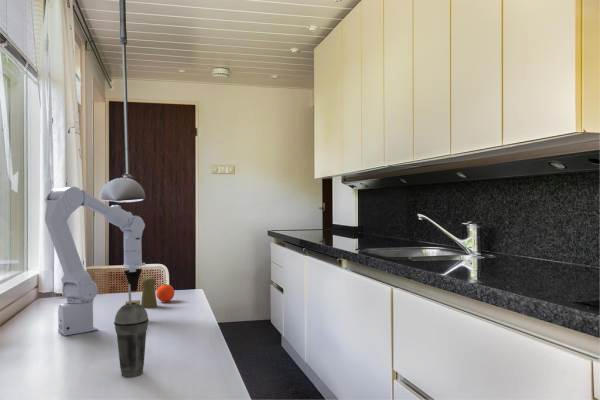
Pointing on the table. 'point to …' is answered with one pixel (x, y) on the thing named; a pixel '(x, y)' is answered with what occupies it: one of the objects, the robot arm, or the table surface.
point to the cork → (148, 293)
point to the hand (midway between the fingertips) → (133, 290)
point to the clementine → (165, 293)
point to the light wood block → (134, 301)
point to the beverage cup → (131, 337)
